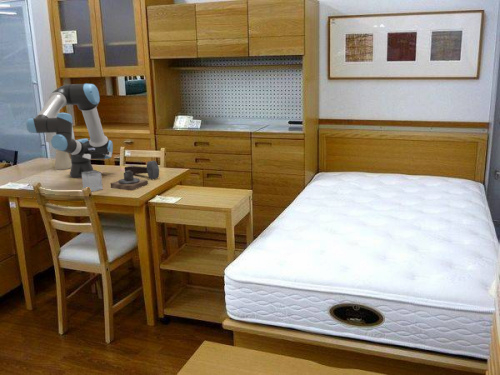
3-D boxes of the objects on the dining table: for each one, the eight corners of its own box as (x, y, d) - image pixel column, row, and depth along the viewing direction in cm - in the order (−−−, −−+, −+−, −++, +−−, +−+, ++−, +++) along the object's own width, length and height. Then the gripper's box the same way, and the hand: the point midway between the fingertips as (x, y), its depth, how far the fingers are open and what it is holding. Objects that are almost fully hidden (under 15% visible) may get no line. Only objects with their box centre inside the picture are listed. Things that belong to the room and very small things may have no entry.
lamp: (74, 170, 336) (67, 115, 326) (45, 171, 334) (38, 116, 325) (80, 164, 354) (75, 112, 344) (54, 165, 352) (47, 113, 343)
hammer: (125, 179, 322) (154, 179, 302) (122, 162, 320) (151, 161, 300) (131, 178, 325) (160, 178, 306) (128, 161, 324) (157, 160, 304)
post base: (132, 190, 280) (130, 174, 278) (110, 187, 287) (109, 172, 285) (148, 184, 292) (146, 169, 290) (127, 182, 299) (125, 167, 297)
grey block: (89, 191, 279) (87, 174, 276) (83, 189, 285) (81, 172, 282) (102, 189, 284) (100, 172, 282) (96, 186, 290) (94, 170, 287)
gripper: (56, 157, 264) (81, 164, 284) (96, 152, 256) (119, 160, 276) (56, 143, 265) (82, 151, 285) (96, 138, 257) (119, 147, 277)
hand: (100, 155), depth 281 cm, fingers open, 13 cm apart
